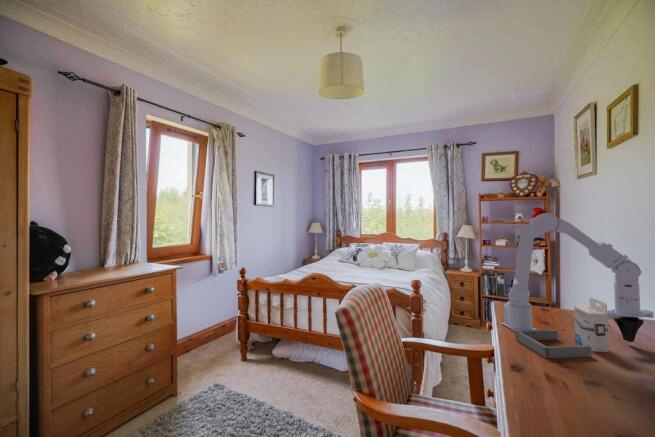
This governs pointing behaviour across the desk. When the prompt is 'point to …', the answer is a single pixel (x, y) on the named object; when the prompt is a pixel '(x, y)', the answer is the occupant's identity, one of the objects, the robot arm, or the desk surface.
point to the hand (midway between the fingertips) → (628, 340)
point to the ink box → (592, 325)
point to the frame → (550, 351)
